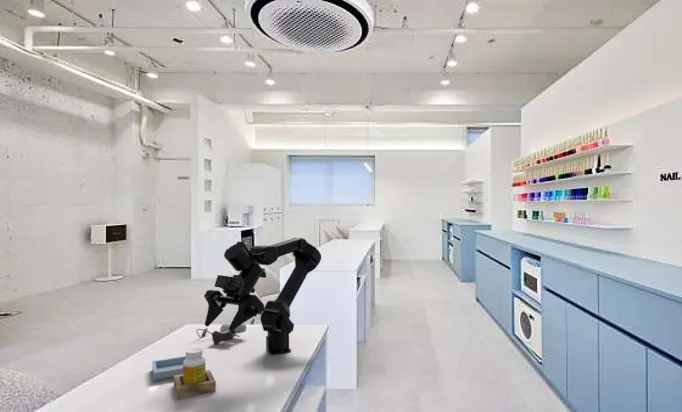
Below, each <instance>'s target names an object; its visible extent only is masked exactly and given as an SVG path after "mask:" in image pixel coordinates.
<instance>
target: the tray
mask: <svg viewBox="0 0 682 412" xmlns="http://www.w3.org/2000/svg"><path fill="white" fill-rule="evenodd" d="M186 358H187V357H186V355H182V356H178V357H177V356H176V357H171V358H166V359H165V358H164V359H158V360H152V377H153V383H159V382H160V383H161V382H164V381H165V382H166V381H170V380H174V376H175V375H181V374H183V361H184V360H185V359H186Z"/></svg>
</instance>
